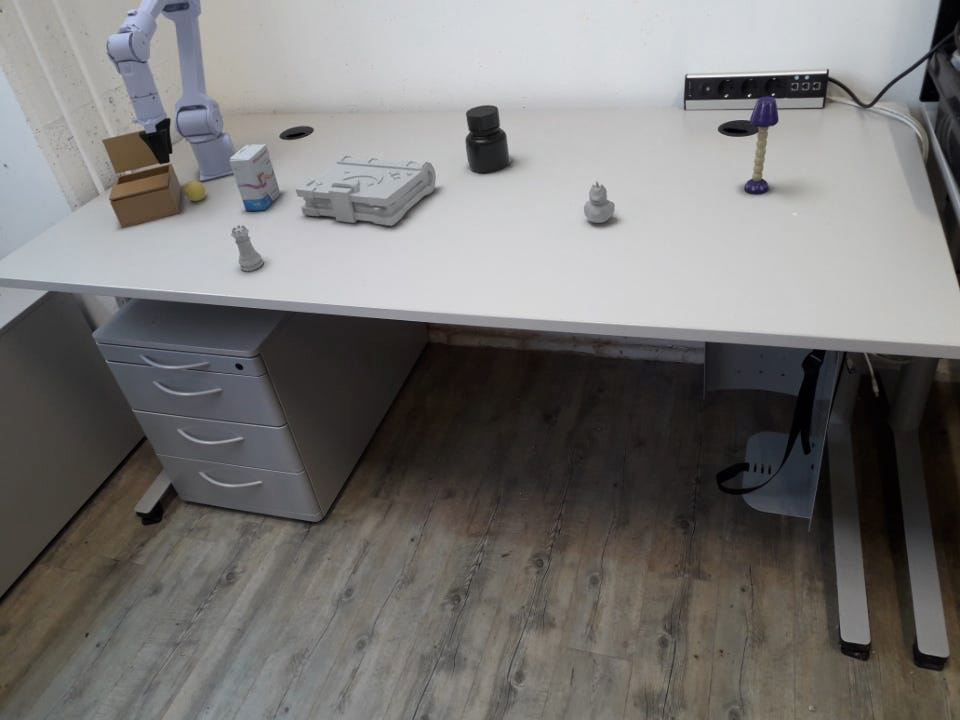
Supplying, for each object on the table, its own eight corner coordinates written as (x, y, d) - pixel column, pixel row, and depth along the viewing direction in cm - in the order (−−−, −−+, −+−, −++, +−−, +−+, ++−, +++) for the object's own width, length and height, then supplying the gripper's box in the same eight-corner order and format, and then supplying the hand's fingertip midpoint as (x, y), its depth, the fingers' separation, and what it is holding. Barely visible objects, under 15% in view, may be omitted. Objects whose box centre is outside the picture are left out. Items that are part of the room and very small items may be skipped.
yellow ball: (208, 193, 174) (201, 175, 172) (208, 201, 171) (201, 182, 168) (188, 198, 174) (181, 180, 171) (188, 206, 170) (180, 187, 167)
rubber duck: (581, 227, 136) (578, 186, 131) (589, 210, 141) (587, 170, 136) (610, 228, 134) (609, 186, 129) (618, 211, 139) (617, 170, 134)
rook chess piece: (242, 262, 144) (228, 224, 139) (265, 258, 144) (252, 220, 139) (238, 273, 140) (224, 235, 136) (262, 269, 140) (248, 231, 136)
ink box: (266, 211, 162) (248, 158, 155) (245, 211, 163) (226, 160, 156) (282, 193, 168) (265, 142, 161) (262, 194, 170) (244, 143, 162)
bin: (127, 200, 178) (115, 173, 174) (181, 187, 180) (170, 160, 176) (121, 227, 166) (108, 199, 162) (179, 213, 168) (167, 184, 164)
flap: (115, 173, 174) (116, 173, 175) (170, 160, 176) (170, 160, 176) (101, 139, 171) (102, 139, 171) (157, 126, 173) (157, 126, 173)
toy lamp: (773, 184, 138) (782, 94, 128) (769, 196, 135) (778, 104, 125) (746, 183, 140) (752, 94, 130) (741, 194, 137) (748, 103, 127)
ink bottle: (500, 153, 169) (493, 99, 162) (518, 164, 162) (512, 109, 155) (461, 165, 166) (452, 112, 159) (478, 178, 160) (469, 122, 152)
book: (336, 177, 171) (328, 145, 167) (441, 187, 158) (435, 153, 154) (282, 216, 158) (271, 182, 154) (391, 230, 146) (383, 194, 141)
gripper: (128, 91, 163) (150, 153, 170) (119, 105, 150) (143, 171, 158) (161, 85, 164) (182, 147, 171) (155, 98, 152) (178, 164, 159)
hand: (166, 158), depth 164 cm, fingers open, 7 cm apart
